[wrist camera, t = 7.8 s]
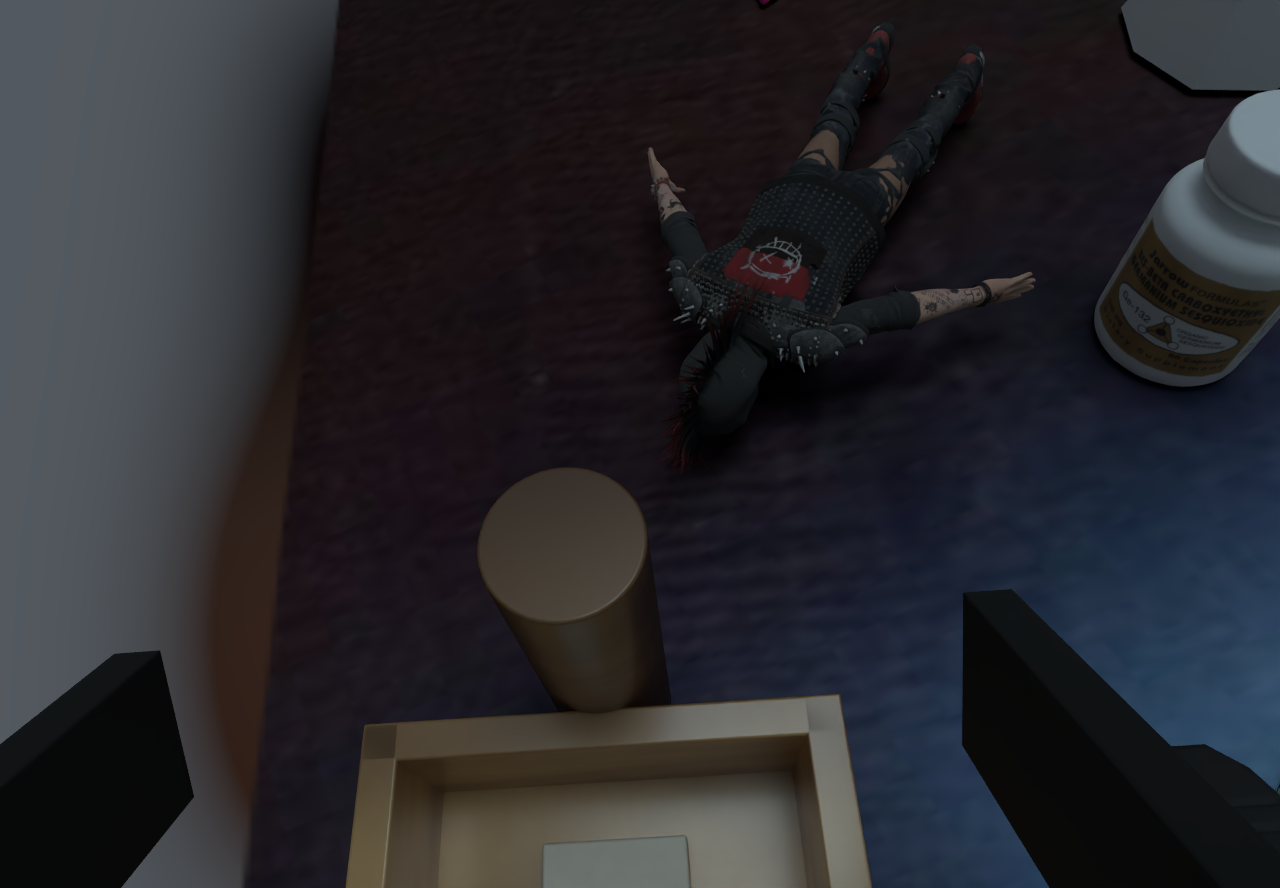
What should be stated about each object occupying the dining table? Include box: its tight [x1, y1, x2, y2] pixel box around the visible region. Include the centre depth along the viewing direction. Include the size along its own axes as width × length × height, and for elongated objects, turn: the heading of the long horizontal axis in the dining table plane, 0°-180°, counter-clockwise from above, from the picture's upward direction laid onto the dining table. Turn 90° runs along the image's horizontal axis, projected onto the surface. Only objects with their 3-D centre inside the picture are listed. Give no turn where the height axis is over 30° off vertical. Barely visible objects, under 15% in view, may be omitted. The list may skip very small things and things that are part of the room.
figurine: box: [648, 23, 1036, 473], centre depth 27 cm, size 13×6×20 cm
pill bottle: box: [1094, 90, 1280, 387], centre depth 24 cm, size 4×4×8 cm
